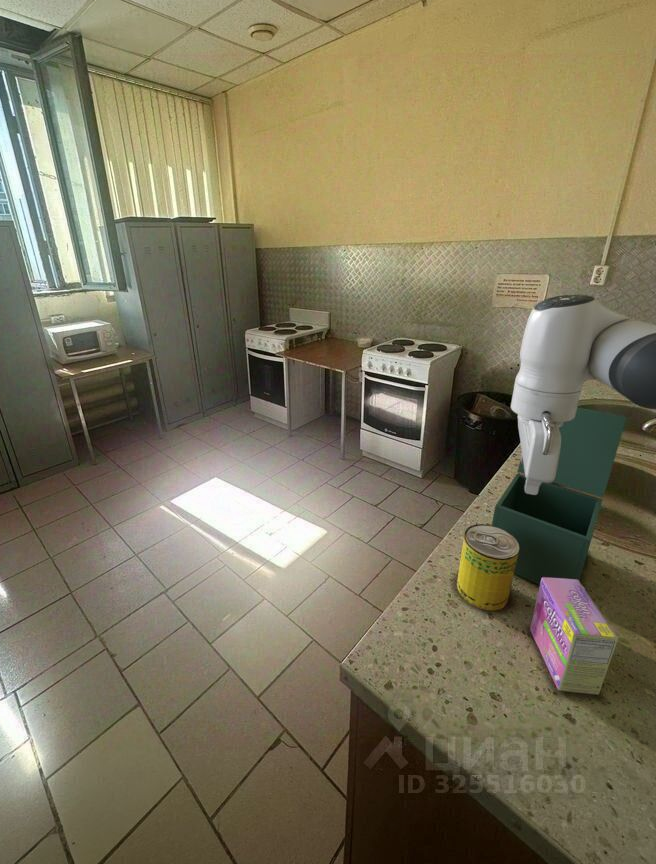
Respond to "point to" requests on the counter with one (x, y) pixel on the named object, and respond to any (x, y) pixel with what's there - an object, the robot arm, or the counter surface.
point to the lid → (587, 450)
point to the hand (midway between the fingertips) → (528, 477)
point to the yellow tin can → (487, 566)
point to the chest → (548, 528)
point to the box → (572, 636)
